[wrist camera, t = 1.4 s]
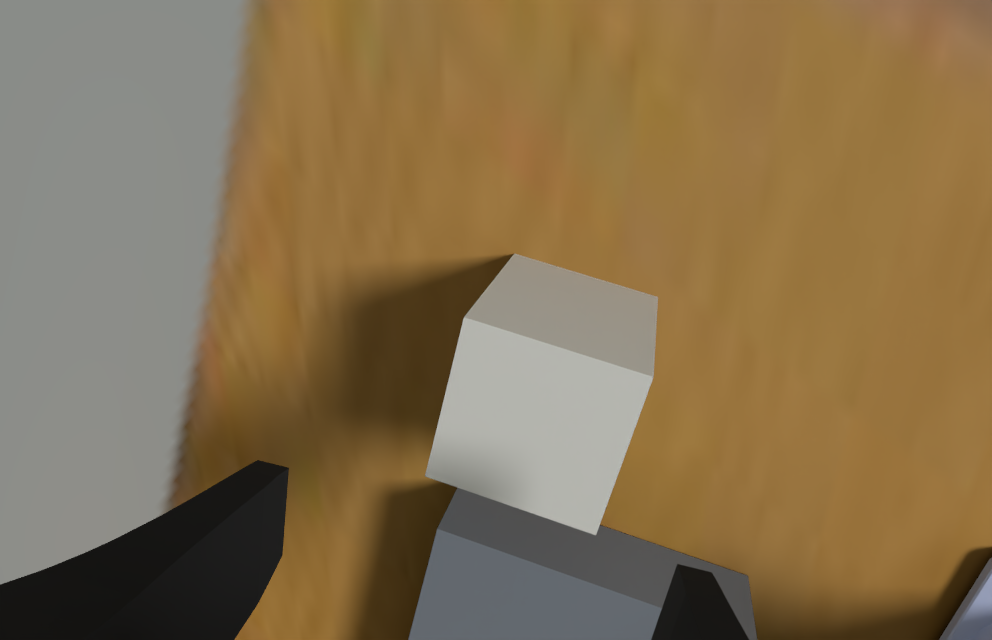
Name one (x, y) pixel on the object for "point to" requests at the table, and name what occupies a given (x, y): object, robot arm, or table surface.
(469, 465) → the cream block
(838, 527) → the table surface
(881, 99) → the table surface
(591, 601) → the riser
